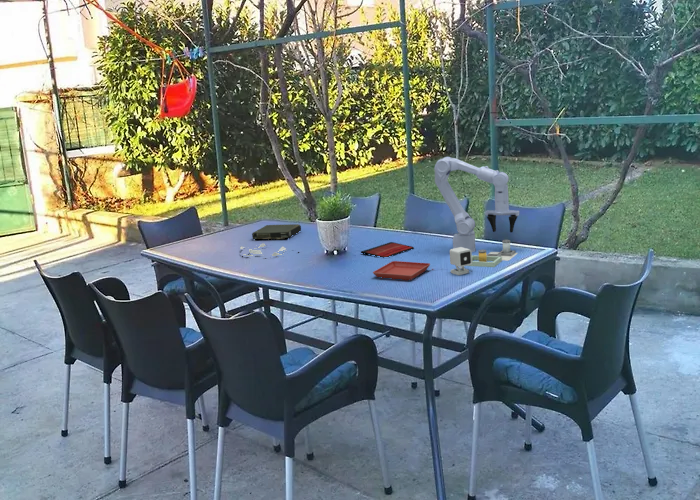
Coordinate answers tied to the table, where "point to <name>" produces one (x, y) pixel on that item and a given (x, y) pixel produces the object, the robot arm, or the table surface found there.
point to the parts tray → (495, 262)
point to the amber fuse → (482, 255)
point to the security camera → (460, 260)
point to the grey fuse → (506, 246)
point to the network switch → (276, 231)
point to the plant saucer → (401, 270)
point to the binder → (387, 249)
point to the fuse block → (503, 255)
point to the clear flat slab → (261, 252)
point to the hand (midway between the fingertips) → (502, 231)
